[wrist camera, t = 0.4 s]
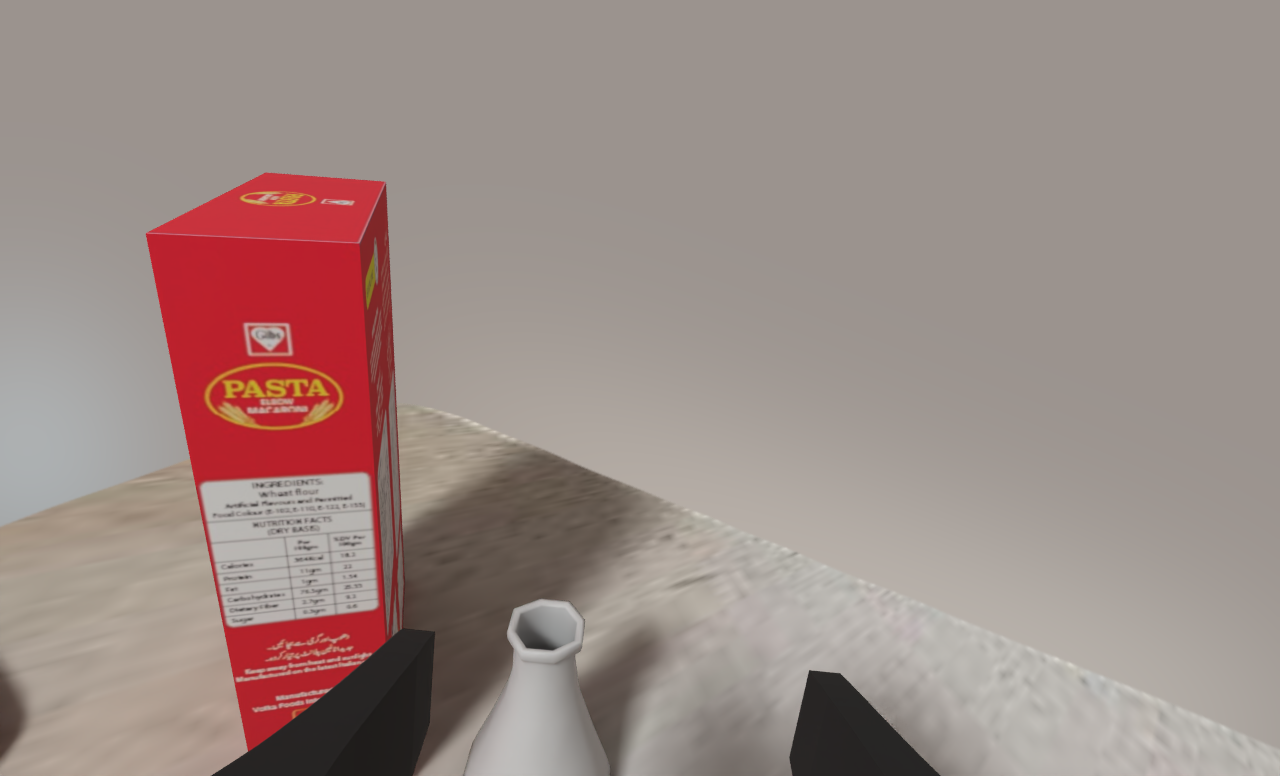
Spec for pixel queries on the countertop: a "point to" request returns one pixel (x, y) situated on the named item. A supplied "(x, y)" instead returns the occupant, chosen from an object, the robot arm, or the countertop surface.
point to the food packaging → (290, 427)
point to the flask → (540, 702)
